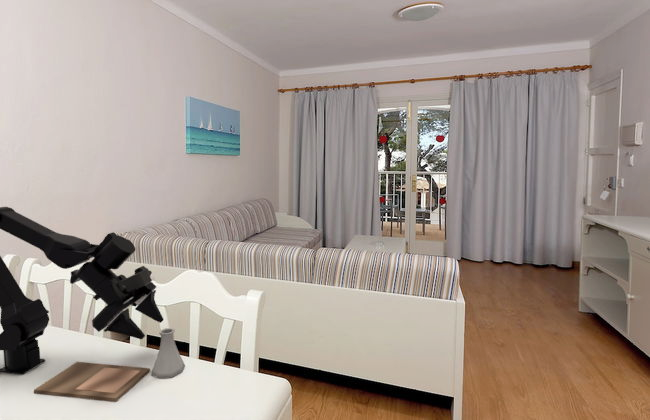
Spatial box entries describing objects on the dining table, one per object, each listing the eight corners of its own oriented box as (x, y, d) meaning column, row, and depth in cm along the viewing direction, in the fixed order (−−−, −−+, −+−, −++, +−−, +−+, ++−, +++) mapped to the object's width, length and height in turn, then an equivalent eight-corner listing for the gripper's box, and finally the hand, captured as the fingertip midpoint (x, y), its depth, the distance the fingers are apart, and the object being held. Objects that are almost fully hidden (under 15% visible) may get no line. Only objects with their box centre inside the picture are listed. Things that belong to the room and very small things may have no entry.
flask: (173, 381, 87) (172, 338, 86) (144, 377, 89) (143, 335, 88) (190, 365, 94) (189, 325, 93) (163, 361, 96) (162, 323, 95)
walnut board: (34, 393, 82) (33, 389, 82) (77, 364, 94) (77, 361, 94) (116, 401, 79) (115, 397, 79) (150, 371, 91) (150, 367, 91)
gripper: (102, 269, 80) (157, 322, 80) (147, 250, 98) (191, 292, 99) (68, 305, 81) (122, 357, 82) (118, 279, 99) (162, 321, 100)
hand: (153, 329), depth 91 cm, fingers open, 9 cm apart
